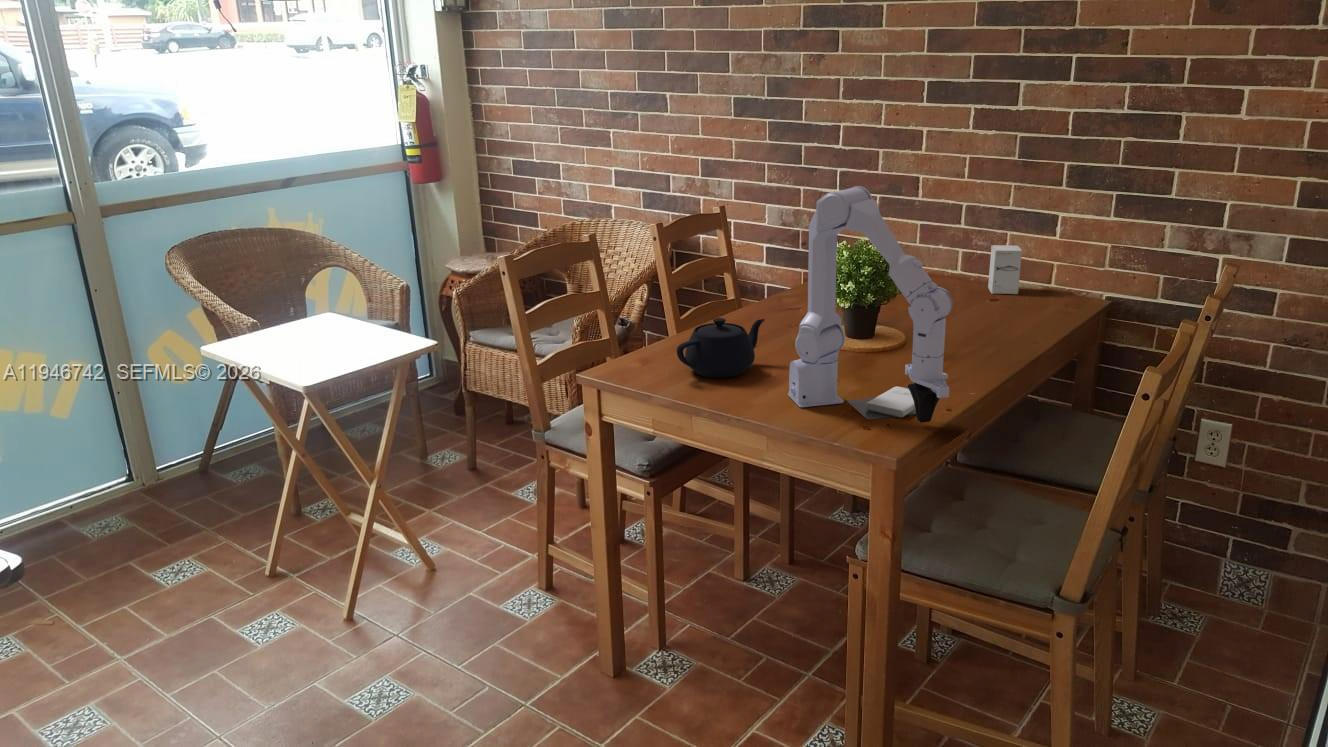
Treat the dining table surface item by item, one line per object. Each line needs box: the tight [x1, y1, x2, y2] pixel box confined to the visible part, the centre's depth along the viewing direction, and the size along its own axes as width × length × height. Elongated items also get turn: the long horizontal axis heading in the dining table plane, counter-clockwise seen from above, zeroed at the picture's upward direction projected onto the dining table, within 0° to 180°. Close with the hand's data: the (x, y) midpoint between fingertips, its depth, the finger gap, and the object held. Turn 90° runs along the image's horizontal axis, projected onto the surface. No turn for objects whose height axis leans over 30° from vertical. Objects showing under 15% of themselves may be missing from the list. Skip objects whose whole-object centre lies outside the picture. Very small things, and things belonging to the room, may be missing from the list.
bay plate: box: [846, 396, 916, 421], centre depth 206 cm, size 14×11×1 cm
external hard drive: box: [866, 386, 915, 418], centre depth 206 cm, size 2×8×12 cm
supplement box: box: [987, 244, 1023, 295], centre depth 288 cm, size 7×7×13 cm
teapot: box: [676, 317, 766, 379], centre depth 229 cm, size 25×16×12 cm, turn 126°
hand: (924, 421), depth 196 cm, fingers closed
